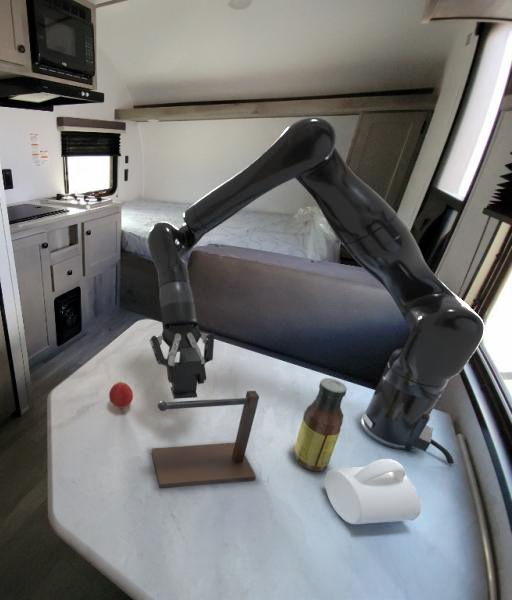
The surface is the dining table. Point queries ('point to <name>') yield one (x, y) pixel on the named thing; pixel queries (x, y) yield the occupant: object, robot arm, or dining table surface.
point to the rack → (207, 450)
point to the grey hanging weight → (187, 373)
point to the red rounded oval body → (121, 395)
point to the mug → (373, 493)
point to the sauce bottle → (321, 426)
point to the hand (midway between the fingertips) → (187, 384)
